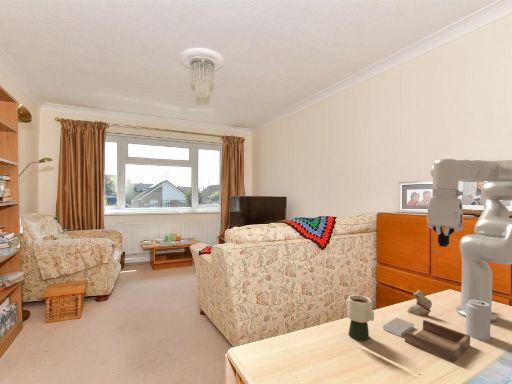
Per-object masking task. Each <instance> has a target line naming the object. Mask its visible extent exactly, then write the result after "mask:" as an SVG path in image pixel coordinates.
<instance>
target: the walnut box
mask: <svg viewBox="0 0 512 384" xmlns="http://www.w3.org/2000/svg"><path fill="white" fill-rule="evenodd" d="M404 342H405V343H407V344H408V345H411V346H414V347H416V348H418V349H421V350H423V351H426V352H428V353H431V354H432V355H434V356H437V357H440V358H442V359H444V360H446V361H449V362H451V363H455V361H456V360H457V359H458V358H459V357H461V355H463V353H465V351H466V350H468V348H469V347H470V346H471V337H470V336H469V335H467V334H466V333H464V332H460V331H457V330H455V329H451V328H449V327H446V326H443V325H441V324H437V323H435V322H432V321H429V320H426V319H423V320H422V329H421V330H420V331H418V332H416V333H412V332H411V331H409V332H407V331H406V332H405V335H404Z"/></svg>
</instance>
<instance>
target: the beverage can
mask: <svg viewBox="0 0 512 384" xmlns="http://www.w3.org/2000/svg"><path fill="white" fill-rule="evenodd" d="M491 312H492V307H491V308H490V307H489V304H488V303H486V302H483V301H480V300H474V299H470V300H468V302H467V304H466V317H465V334H466V335H469V336H470V338H472V339H476V340H479V341H484V342H485V341H490V340H491V322H492V321H491Z"/></svg>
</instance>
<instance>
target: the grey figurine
mask: <svg viewBox="0 0 512 384" xmlns="http://www.w3.org/2000/svg"><path fill="white" fill-rule="evenodd" d="M413 297H414V298H415V299H416V303H414V304H411V305H409V307H408V308H407V310H406V312H407V313H409V314H412V315H415V316H422V317H423V316H427V317H428V316H429V314H430V313H431V312H432V311H431V310H430V309H431V308H432V306H433V302H432V301H431V300H430V299H429V298H427V297H426V296H425V294H424V293H423V292H422V291H421V290H420V289H419V290H417V291H416V292H414V293H413Z"/></svg>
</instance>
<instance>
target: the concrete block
mask: <svg viewBox="0 0 512 384" xmlns="http://www.w3.org/2000/svg"><path fill="white" fill-rule="evenodd" d="M413 329H415V323H412V322H410V321H407V320H404V319H401V318H399V317H395V318H394V319H392V320H390V321H389V322H386V323H385V324H383V325H382V330H383V331H386V332H389V333H391V334H393V335H396V336H398V337H401V338H402V337H403V336H405V332H406V331H407V332H411V331H412V330H413Z"/></svg>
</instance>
